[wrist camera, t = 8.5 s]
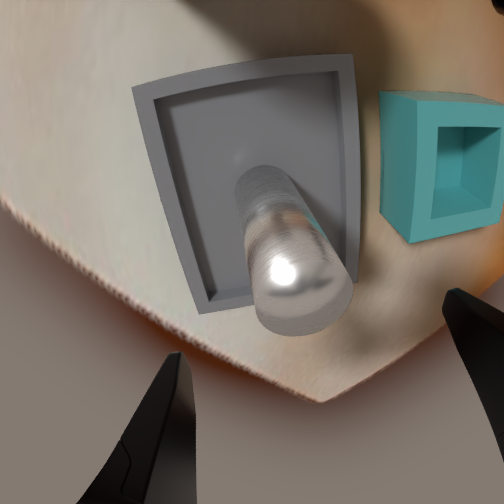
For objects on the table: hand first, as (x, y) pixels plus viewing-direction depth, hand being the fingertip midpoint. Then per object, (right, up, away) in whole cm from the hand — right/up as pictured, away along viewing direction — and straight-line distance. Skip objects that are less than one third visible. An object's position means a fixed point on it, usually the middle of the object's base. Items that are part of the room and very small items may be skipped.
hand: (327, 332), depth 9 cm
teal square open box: (+11, +10, +11) cm, 18 cm away
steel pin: (-2, +6, +10) cm, 12 cm away
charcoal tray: (-2, +7, +11) cm, 13 cm away
